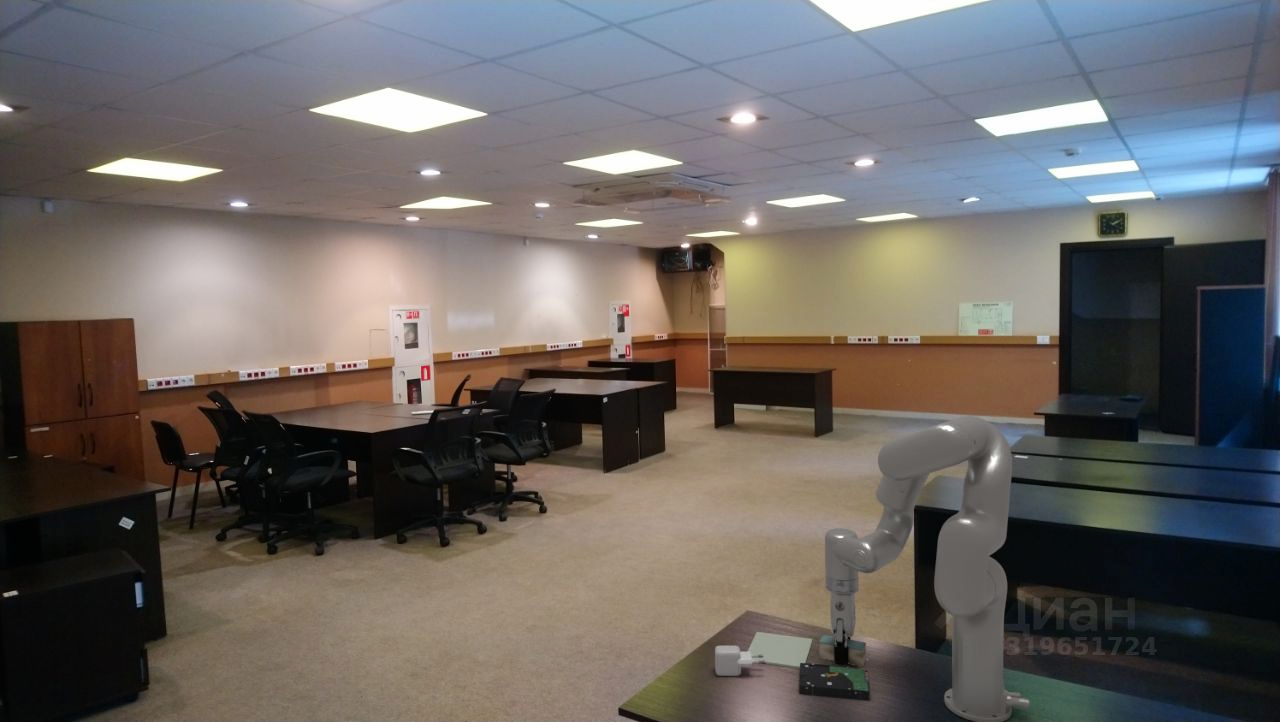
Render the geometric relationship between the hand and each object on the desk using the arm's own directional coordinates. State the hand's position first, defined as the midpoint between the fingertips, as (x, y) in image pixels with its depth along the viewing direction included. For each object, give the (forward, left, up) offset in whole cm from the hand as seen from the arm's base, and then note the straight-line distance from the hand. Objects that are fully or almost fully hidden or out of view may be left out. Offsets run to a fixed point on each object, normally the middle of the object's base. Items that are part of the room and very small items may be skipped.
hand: (842, 656), depth 172 cm
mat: (+15, +1, 0) cm, 15 cm away
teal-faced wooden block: (0, 0, -1) cm, 1 cm away
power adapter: (+22, +14, -1) cm, 26 cm away
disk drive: (+1, +13, -1) cm, 13 cm away
